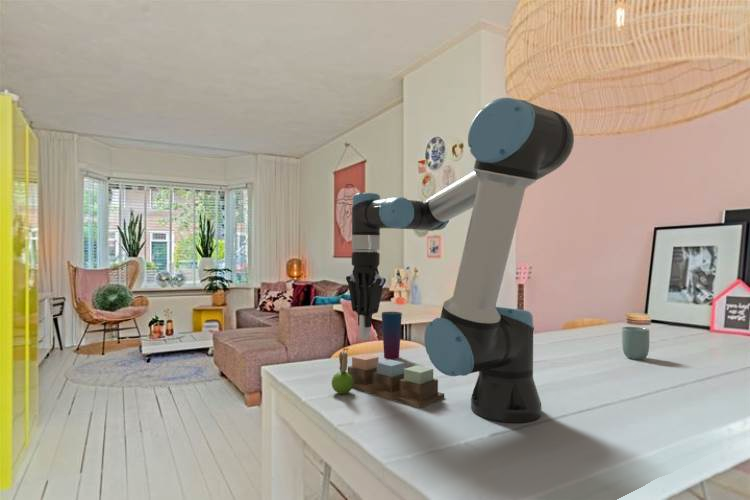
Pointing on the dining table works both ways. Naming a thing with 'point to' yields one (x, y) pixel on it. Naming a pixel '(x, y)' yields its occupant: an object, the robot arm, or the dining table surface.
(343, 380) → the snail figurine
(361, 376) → the wooden socket tray
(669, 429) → the dining table surface
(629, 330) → the cup
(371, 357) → the terracotta key
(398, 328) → the cup
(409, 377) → the sage key
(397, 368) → the slate key
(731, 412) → the dining table surface
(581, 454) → the dining table surface
